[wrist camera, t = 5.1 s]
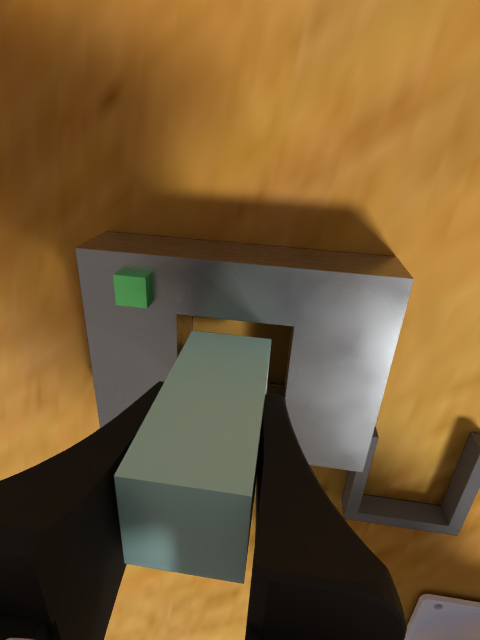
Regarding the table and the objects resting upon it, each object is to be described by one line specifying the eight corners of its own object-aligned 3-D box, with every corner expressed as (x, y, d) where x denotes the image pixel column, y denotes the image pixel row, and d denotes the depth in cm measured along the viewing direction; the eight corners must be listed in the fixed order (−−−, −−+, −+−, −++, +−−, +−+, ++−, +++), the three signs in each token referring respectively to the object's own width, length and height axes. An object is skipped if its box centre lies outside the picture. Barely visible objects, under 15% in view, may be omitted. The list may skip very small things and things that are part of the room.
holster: (484, 434, 18) (495, 452, 17) (449, 515, 21) (457, 535, 20) (361, 418, 19) (365, 435, 18) (341, 499, 22) (343, 518, 20)
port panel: (396, 256, 15) (418, 284, 13) (355, 431, 19) (364, 481, 17) (106, 231, 17) (67, 251, 14) (123, 401, 21) (96, 443, 18)
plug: (271, 339, 14) (251, 496, 8) (265, 404, 16) (243, 584, 9) (192, 330, 15) (114, 476, 8) (192, 395, 16) (124, 563, 10)
